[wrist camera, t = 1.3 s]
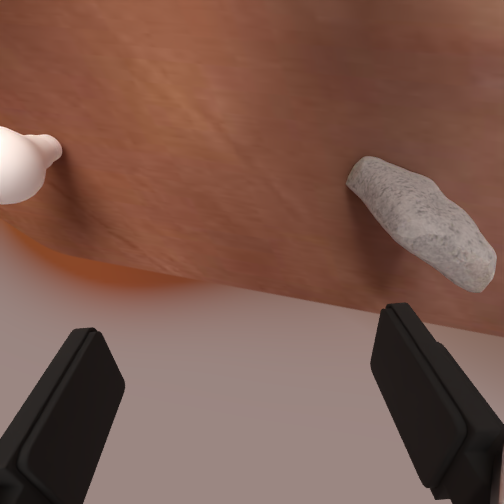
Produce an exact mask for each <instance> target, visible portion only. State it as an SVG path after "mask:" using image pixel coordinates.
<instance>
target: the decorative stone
mask: <svg viewBox="0 0 504 504" xmlns="http://www.w3.org/2000/svg"><path fill="white" fill-rule="evenodd" d="M346 185H347V186H348V187H349V188H350V189H351V190H352V191H353V192H354V193H355V194H356V195H357V196H358V197H359V198H360V199H361V200H362V201H363V202H364V204H365V205H366V206H367V208H368V209H369V211H370V212H371V213H372V214H373V216H374V217H375V219H376V220H377V221H378V222H379V223H380V225H381V226H382V227H383V228H384V229H385V230H386V231H387V233H388V234H389V235H390V236H391V237H392V238H393V239H394V240H395V241H396V242H397V243H398V244H400V245H401V246H402V247H403V248H405V249H406V250H408V251H409V252H410V253H412V254H414V255H415V256H417V257H418V258H420V259H421V260H423V261H425V262H426V263H428V264H429V265H431V266H432V267H434V268H435V269H436V270H438V271H439V272H440V273H441V274H443V275H444V276H445V277H446V278H448V279H449V280H450V281H452V282H453V283H454V284H456V285H458V286H459V287H461V288H463V289H465V290H467V291H469V292H474V293H480V292H482V291H483V290H484V289H485V288H486V286H487V285H488V284H489V283H490V281H491V280H492V279H493V276H494V273H495V267H496V260H497V256H496V254H495V251H494V249H493V248H492V247H491V245H490V244H489V243H488V242H487V240H486V239H485V238H484V236H483V235H482V234H481V233H480V231H479V229H478V227H477V225H476V224H475V222H474V221H473V220H472V219H471V217H470V216H469V215H468V214H467V213H466V212H465V210H463V209H462V208H461V207H459V206H458V205H456V204H455V203H454V202H452V201H451V200H449V199H447V197H446V196H445V195H444V194H443V193H442V192H441V191H440V189H439V187H438V186H437V185H436V184H435V182H434V181H433V180H431V179H429V178H428V177H425V176H423V175H420V174H417V173H414V172H411V171H408V170H406V169H404V168H401V167H399V166H396V165H394V164H391V163H388V162H386V161H384V160H382V159H380V158H377V157H371V156H365V157H363V158H362V159H360V160H359V161H358V162H357V163H356V164H355V165H354V167H353V168H352V170H351V173H350V174H349V175H348V178H347V182H346Z"/></svg>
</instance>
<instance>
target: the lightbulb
mask: <svg viewBox="0 0 504 504" xmlns="http://www.w3.org/2000/svg"><path fill="white" fill-rule="evenodd" d="M61 155H62V147H61V145H60V143H59V142H58V141H57V140H56V139H55V138H54V137H52V136H50V135H46V134H44V135H21V134H19V133H17V132H15V131H13V130H10V129H8V128H5V127H1V126H0V204H14V203H19V202H22V201H25V200H27V199H29V198H31V197H32V196H34V195H35V194H36V193H37V192H38V191H39V189H40V188H41V187H42V185H43V183H44V180H45V174H46V169H47V168H48V167H50V166H51V165H52V164H53V162H54V161H56V160H57V159H59V158H60V157H61Z"/></svg>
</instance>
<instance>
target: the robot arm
mask: <svg viewBox="0 0 504 504" xmlns="http://www.w3.org/2000/svg"><path fill="white" fill-rule="evenodd" d="M370 364H371V370H372V373H373V375H374V378H375V380H376V382H377V384H378V387H379V389H380V391H381V393H382V395H383V398H384V400H385V402H386V404H387V407H388V409H389V411H390V413H391V416H392V418H393V420H394V422H395V425H396V427H397V429H398V431H399V434H400V436H401V438H402V440H403V442H404V444H405V447H406V449H407V451H408V454H409V456H410V458H411V460H412V463H413V465H414V467H415V469H416V471H417V474H418V476H419V478H420V480H421V482H422V484H423V485H424V486H425V487H426V488H430V490H431V492H432V494H433V496H434V498H435V500H441V499H451V502H452V504H504V424H503V423H502V422H501V420H500V419H499V418H498V416H497V415H496V414H495V412H494V411H493V410H492V408H491V407H490V406H489V404H488V403H487V402H486V400H485V399H484V398H483V397H482V395H481V394H480V393H479V391H478V390H477V389H476V387H475V386H474V385H473V383H472V382H471V381H470V380H469V378H468V377H467V375H466V374H465V373H464V371H463V370H462V369H461V368H460V366H459V365H458V364H457V362H456V361H455V360H454V358H453V357H452V356H451V354H450V353H449V352H448V351H447V349H446V348H445V347H444V346H443V345H442V344H441V343H439V342H436V340H435V339H434V338H433V336H432V335H431V334H430V332H429V331H428V330H427V328H426V327H425V325H424V324H423V323H422V321H421V320H420V319H419V317H418V316H417V315H416V313H415V312H414V311H413V309H412V308H411V307H410V305H409V304H408V303H394V304H387V305H386V308H385V309H382V310H381V313H380V318H379V323H378V327H377V333H376V337H375V343H374V347H373V352H372V357H371V363H370ZM124 390H125V382H124V379H123V377H122V375H121V373H120V371H119V369H118V366H117V364H116V362H115V360H114V358H113V356H112V354H111V352H110V350H109V348H108V346H107V343H106V342H105V339H104V337H103V335H102V333H101V332H99V331H98V332H97V330H96V329H95V328H80V329H74V330H73V331H72V332H71V333H70V335H69V336H68V338H67V339H66V341H65V342H64V344H63V345H62V347H61V348H60V350H59V351H58V353H57V354H56V356H55V357H54V359H53V360H52V362H51V363H50V365H49V366H48V368H47V369H46V371H45V372H44V374H43V375H42V377H41V378H40V380H39V381H38V383H37V385H36V386H35V388H34V389H33V390H32V392H31V394H30V395H29V397H28V398H27V400H26V401H25V403H24V404H23V406H22V407H21V409H20V410H19V412H18V413H17V415H16V416H15V418H14V419H13V421H12V422H11V424H10V425H9V427H8V428H7V430H6V431H5V433H4V434H3V436H2V437H1V439H0V504H83V502H84V499H85V496H86V494H87V491H88V489H89V486H90V483H91V480H92V478H93V475H94V472H95V470H96V467H97V464H98V461H99V459H100V456H101V453H102V451H103V448H104V445H105V442H106V440H107V437H108V434H109V431H110V429H111V426H112V423H113V420H114V418H115V415H116V413H117V410H118V407H119V404H120V402H121V399H122V396H123V393H124Z"/></svg>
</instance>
